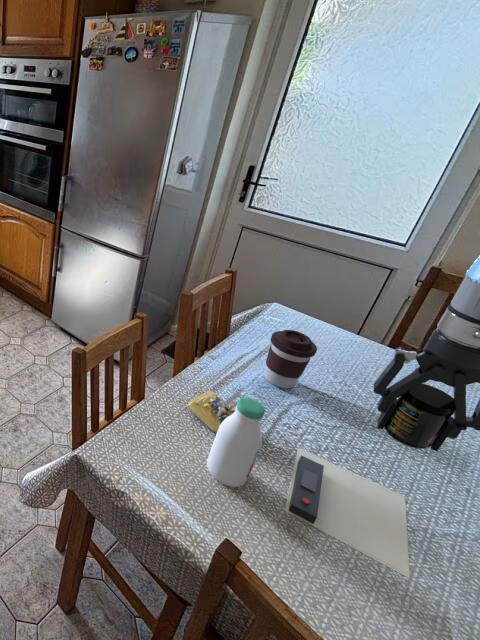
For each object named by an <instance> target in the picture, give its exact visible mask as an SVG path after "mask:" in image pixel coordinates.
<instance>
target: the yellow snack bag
mask: <svg viewBox="0 0 480 640" xmlns="http://www.w3.org/2000/svg"><path fill="white" fill-rule="evenodd" d="M244 388H245V386H243V387H242V388H240V389H239V390H238V391H236V392H235V393H233V394H232V395H231V396H229V397H228V398H227V399H225V400H223V399H222V398H220V397H219V396H218V395H217V394H216V393H215V392H213V391H211V390H207V391H205V392H204V393H202V394H200V395H198V396H196V397H195V398H194V399H192V400H191V401H190V402H188V404H186V408H187V409H188V410H189V411H190V412H191V413H193V415H195V416H196V417H197V418H198V419H199V420H200V422H202V423H203V424H205V426H206V427H208V428H209V429H210V430H211V431H213V432H215V433H217V431H218V429H219V427H220V425H221V423H222V422H223V421H224V420H225V419H226V418H227V417H229V416H230V415H232V414H233V413H234V412H235V411H236V409H235V408H236V406H237V403H236V402H235V401H234V400H236V399H237V398H238V397H239V396H240V395H241V393H242V391H243V390H244Z"/></svg>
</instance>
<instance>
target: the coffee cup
mask: <svg viewBox="0 0 480 640" xmlns="http://www.w3.org/2000/svg"><path fill="white" fill-rule="evenodd" d="M269 340H270V343H271V344H270V346H269V349H268V353H267V356H266V360H265V368H264V371H263V377H264V378H265V380H266V381H267V382H268V383H270V384H271V385H273V386H275V387H277V388H282V389H291V388H294V387H295V385H296V384H297V383H298V380H299V379H300V378H301V377H302V375H303V373H304V371H305V370H306V368H307V366H308V364H309V362H310V361H311V358H312V357H314V356H315V355H316V353H317V351H318V347H317V345H316V344H315V342H313V341H312V339H311V337H309V336H308V335H306V334H305V333H303V332H301V331H298V330H295V329H283V330H278V331H274V332H273V333H272V334H271V337H270V339H269Z"/></svg>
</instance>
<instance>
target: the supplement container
mask: <svg viewBox="0 0 480 640" xmlns="http://www.w3.org/2000/svg"><path fill="white" fill-rule="evenodd" d="M456 409H457V408H456V407H455V403H454V396H451V395H450V394H448V393H447V392H445V391H444V390H442V389H439V388H437V387H435V386H432V385H430V384H427V383H421V384H420V385H418V386H416V387H415V388H413V389H411V390H410V391H407V392H406V393H405V394H403V395H402V396H400V397H398V398H397V406H396V408H395V409H394V411H393V413H392V415H391V416H390V418H389V420H388V421H387V423H386V425H385V426H384V428H383V429H384V431H385V432H386V433H387V434H388V435H389V436H390V437H391V438H392V439H394V440H395V441H397V442H398V443H400V444H402V445H404V446H406V447H410V448H413V449H418V450H425V449H429V448H431V445H432V444H433V442H434V441H435V439H436V438H437V436H438V435H439V433H440V432H441V430H442V429H443V427H444V426H445V424H446V423H447V422H448V420H449V419H450V417H453V416H454V412H455V410H456Z"/></svg>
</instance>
